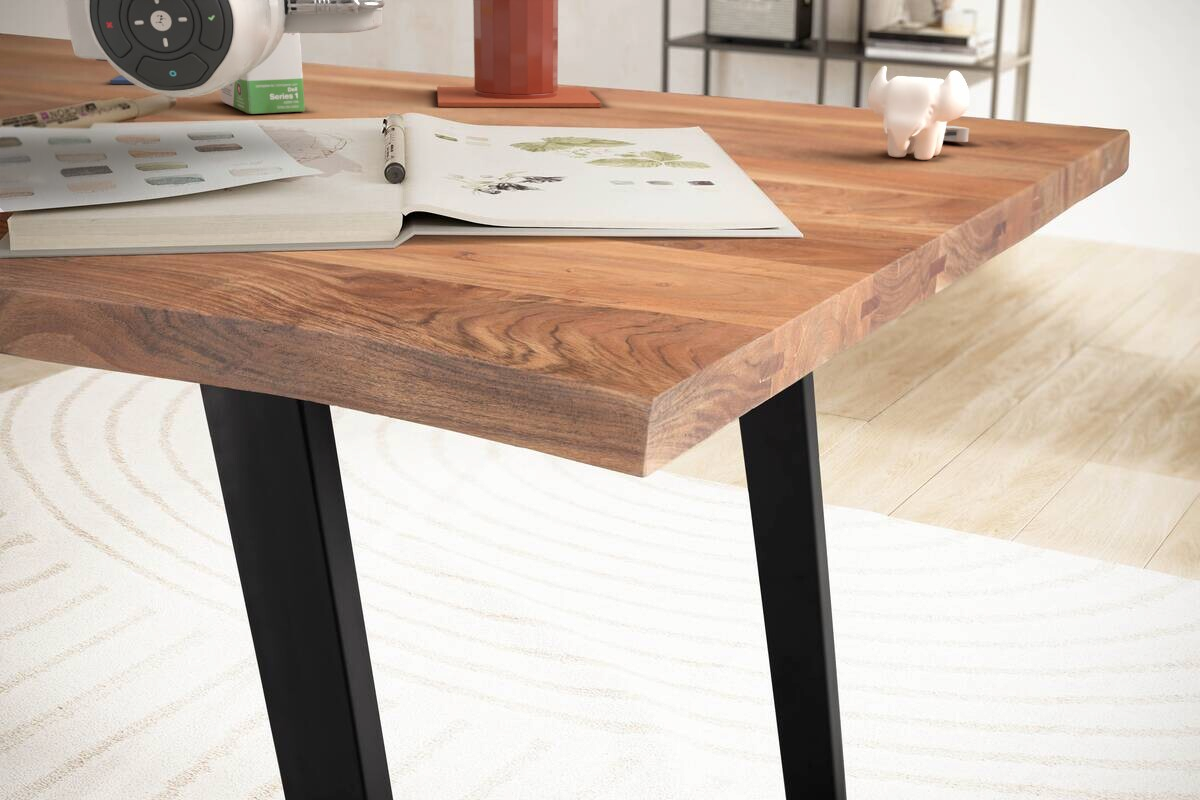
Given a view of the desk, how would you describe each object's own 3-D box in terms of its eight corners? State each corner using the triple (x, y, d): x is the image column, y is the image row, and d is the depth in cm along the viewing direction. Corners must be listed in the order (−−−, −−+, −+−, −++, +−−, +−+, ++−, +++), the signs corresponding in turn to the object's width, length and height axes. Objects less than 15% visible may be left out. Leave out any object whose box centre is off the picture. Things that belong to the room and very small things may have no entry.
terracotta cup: (476, 103, 111) (474, -5, 108) (473, 93, 118) (471, -8, 115) (560, 104, 112) (561, -4, 109) (553, 94, 119) (553, -7, 116)
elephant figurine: (846, 160, 85) (853, 68, 83) (879, 145, 92) (887, 60, 90) (947, 170, 83) (958, 75, 81) (974, 153, 89) (984, 66, 87)
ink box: (307, 112, 104) (298, -42, 100) (246, 115, 101) (235, -42, 97) (277, 100, 111) (268, -44, 107) (219, 103, 108) (208, -44, 104)
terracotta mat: (438, 106, 109) (437, 102, 108) (437, 91, 120) (437, 86, 120) (601, 107, 110) (601, 102, 110) (585, 91, 122) (585, 87, 121)
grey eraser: (899, 138, 98) (900, 123, 97) (925, 137, 99) (926, 122, 98) (951, 144, 92) (951, 127, 92) (977, 142, 93) (978, 126, 93)
